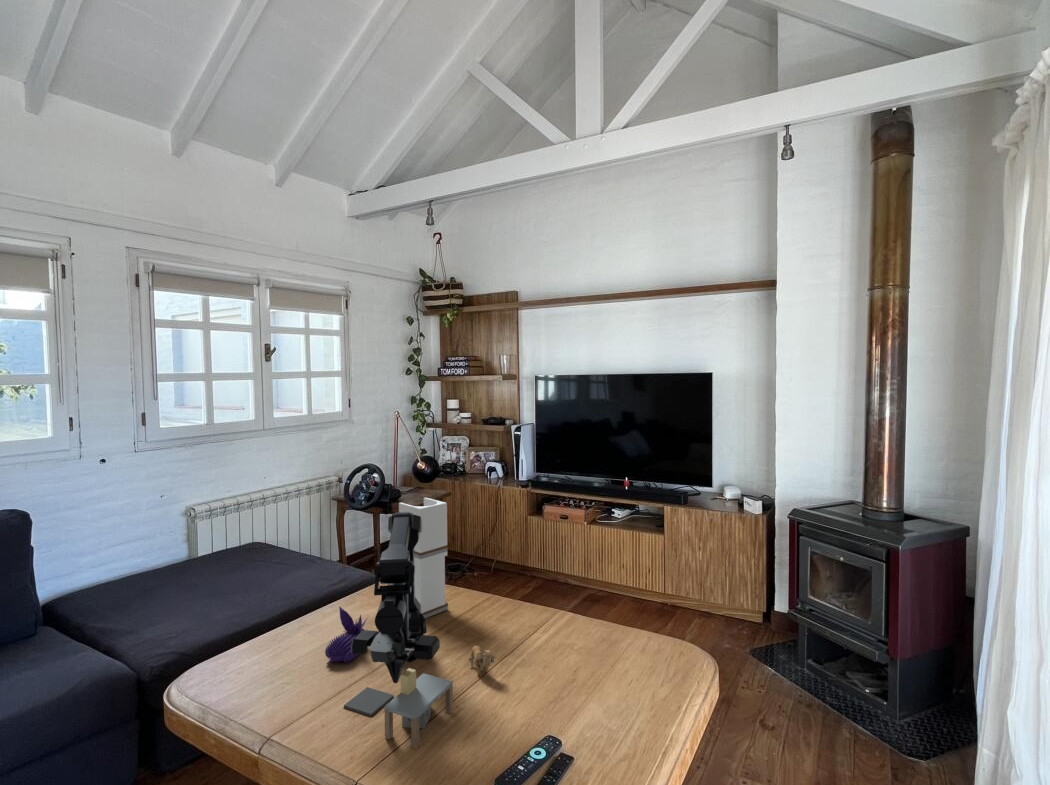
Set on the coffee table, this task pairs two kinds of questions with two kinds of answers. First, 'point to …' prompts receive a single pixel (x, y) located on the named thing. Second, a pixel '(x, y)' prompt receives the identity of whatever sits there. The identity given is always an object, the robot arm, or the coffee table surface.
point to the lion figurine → (481, 659)
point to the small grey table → (417, 701)
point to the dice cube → (422, 719)
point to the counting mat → (368, 701)
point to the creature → (344, 639)
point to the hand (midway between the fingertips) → (396, 682)
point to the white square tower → (430, 555)
